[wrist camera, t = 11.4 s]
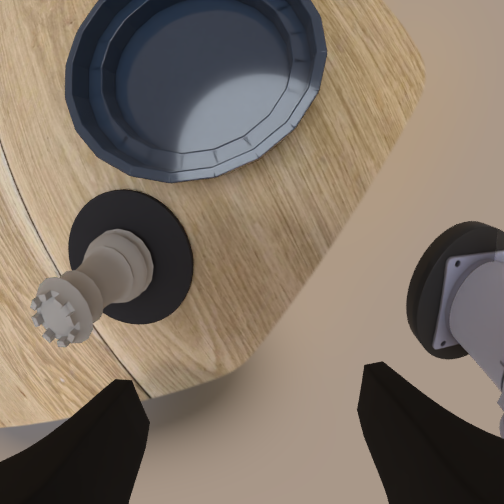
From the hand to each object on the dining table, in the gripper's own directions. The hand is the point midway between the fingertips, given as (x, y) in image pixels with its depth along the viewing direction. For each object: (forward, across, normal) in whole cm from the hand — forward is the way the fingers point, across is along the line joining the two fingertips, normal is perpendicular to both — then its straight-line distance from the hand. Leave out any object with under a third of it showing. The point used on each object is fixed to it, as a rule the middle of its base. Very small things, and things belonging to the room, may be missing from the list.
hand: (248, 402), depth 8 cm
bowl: (+11, +2, -13) cm, 17 cm away
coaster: (+11, +8, -2) cm, 13 cm away
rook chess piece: (+10, +8, -2) cm, 13 cm away
